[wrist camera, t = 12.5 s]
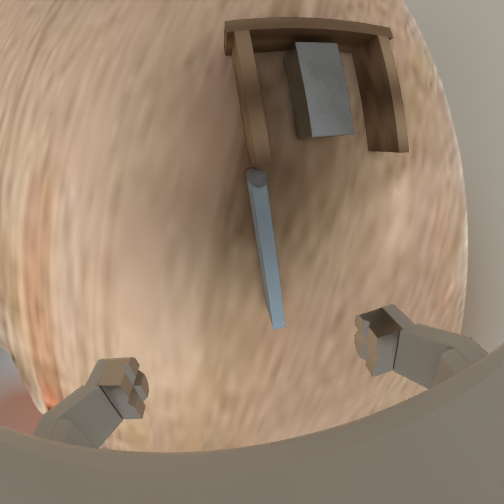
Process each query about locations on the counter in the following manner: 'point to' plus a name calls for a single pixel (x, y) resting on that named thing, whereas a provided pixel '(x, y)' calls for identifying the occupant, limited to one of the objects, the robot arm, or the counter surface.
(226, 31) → the wooden u-shaped block
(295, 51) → the dark gray rectangular block
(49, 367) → the counter surface
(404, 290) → the counter surface
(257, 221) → the rounded end plank
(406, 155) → the counter surface
